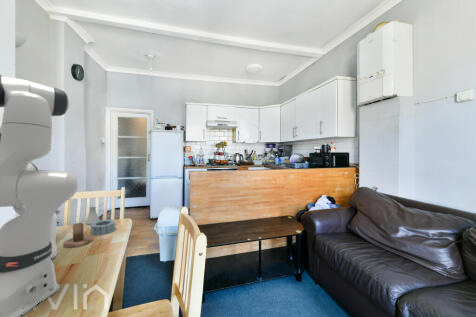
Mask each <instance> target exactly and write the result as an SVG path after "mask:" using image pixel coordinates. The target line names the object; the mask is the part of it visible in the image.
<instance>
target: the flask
mask: <svg viewBox="0 0 476 317" xmlns="http://www.w3.org/2000/svg"><path fill="white" fill-rule="evenodd" d="M96 208H97V206H91V207H89V213H88V216H87V218H86V221H85V225H87V226H91V224H92V223H94V222H97V221H101V220H100V218H99V216H98V214H97V210H96Z"/></svg>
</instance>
